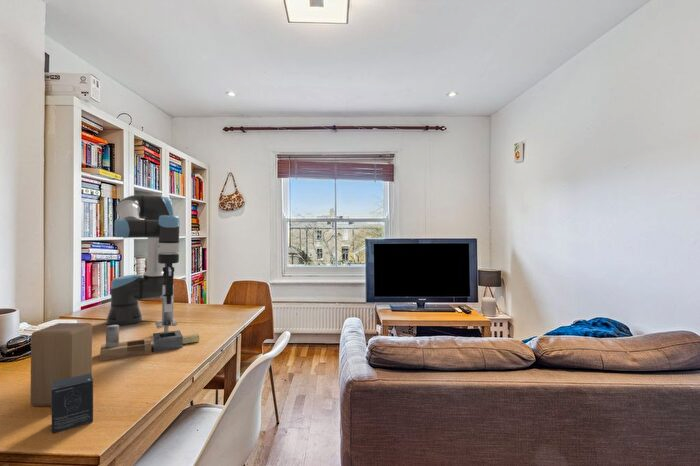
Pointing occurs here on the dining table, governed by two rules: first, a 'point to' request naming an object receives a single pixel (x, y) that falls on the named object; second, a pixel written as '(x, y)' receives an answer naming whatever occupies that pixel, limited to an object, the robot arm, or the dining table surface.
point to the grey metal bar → (166, 316)
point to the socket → (167, 340)
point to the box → (72, 402)
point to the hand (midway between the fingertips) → (167, 310)
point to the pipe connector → (166, 328)
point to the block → (58, 357)
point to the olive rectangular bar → (190, 338)
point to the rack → (122, 345)
